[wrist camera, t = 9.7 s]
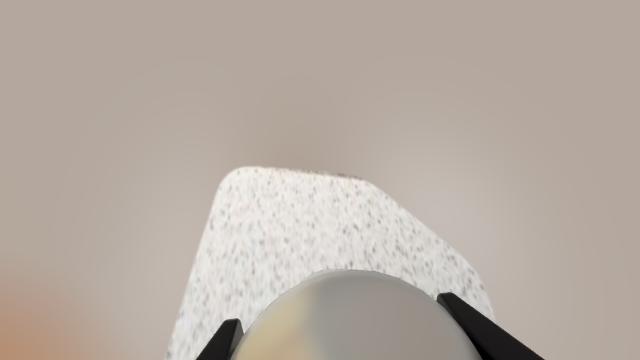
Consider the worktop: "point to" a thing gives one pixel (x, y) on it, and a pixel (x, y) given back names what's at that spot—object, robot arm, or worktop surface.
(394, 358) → the silver ridged hollow container
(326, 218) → the worktop surface
